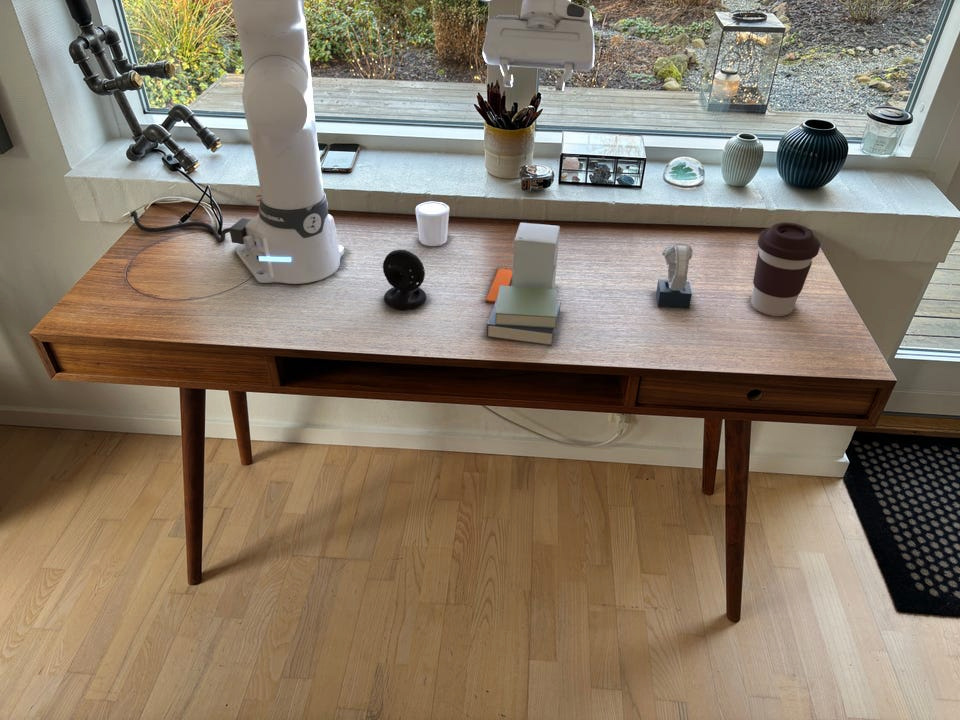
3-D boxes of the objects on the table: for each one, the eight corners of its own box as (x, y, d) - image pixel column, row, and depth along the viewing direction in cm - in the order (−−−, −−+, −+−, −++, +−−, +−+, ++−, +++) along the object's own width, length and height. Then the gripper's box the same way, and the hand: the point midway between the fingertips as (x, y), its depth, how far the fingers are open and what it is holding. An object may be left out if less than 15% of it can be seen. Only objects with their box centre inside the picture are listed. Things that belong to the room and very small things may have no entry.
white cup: (456, 237, 161) (456, 206, 157) (437, 250, 156) (436, 218, 152) (429, 229, 164) (428, 198, 160) (409, 241, 159) (408, 210, 155)
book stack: (486, 337, 131) (487, 312, 129) (498, 305, 140) (499, 281, 137) (553, 346, 130) (555, 321, 127) (561, 313, 138) (563, 289, 135)
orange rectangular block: (498, 270, 150) (498, 268, 150) (514, 271, 150) (514, 270, 150) (485, 301, 141) (485, 299, 140) (502, 303, 140) (502, 302, 140)
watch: (685, 290, 145) (695, 237, 138) (690, 314, 138) (701, 258, 132) (654, 288, 145) (663, 235, 139) (657, 312, 139) (667, 256, 132)
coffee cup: (810, 319, 137) (834, 242, 129) (758, 323, 136) (778, 246, 127) (784, 290, 145) (804, 216, 137) (733, 294, 144) (751, 219, 135)
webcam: (376, 306, 139) (372, 256, 133) (395, 286, 145) (392, 237, 139) (416, 315, 137) (413, 264, 131) (433, 294, 142) (432, 245, 137)
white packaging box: (550, 307, 139) (555, 244, 132) (509, 303, 140) (512, 239, 133) (556, 287, 145) (561, 225, 138) (516, 282, 146) (519, 221, 139)
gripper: (486, 3, 142) (473, 74, 140) (599, 10, 138) (588, 82, 136) (490, 24, 148) (479, 91, 146) (599, 31, 144) (589, 100, 142)
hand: (532, 87), depth 141 cm, fingers open, 8 cm apart
